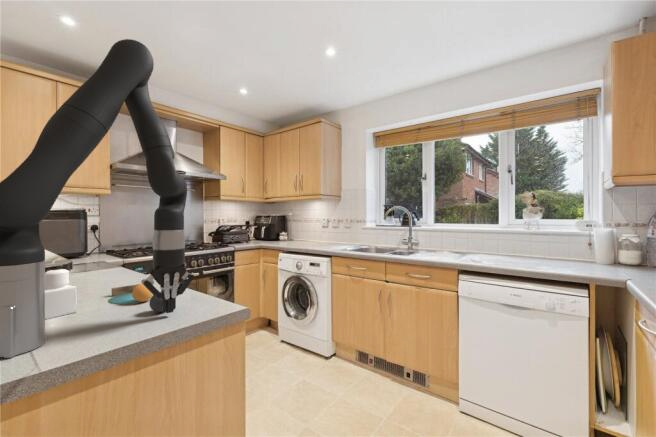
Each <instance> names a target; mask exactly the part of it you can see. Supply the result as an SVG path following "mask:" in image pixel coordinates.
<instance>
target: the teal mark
mask: <svg viewBox="0 0 656 437" xmlns="http://www.w3.org/2000/svg"><path fill="white" fill-rule="evenodd" d="M152 296H153V295H152ZM150 299H151V298H150ZM150 299H149V300H148V301H145V302H150ZM145 302H144V303H145ZM108 303H110V304H113V305H133V304H139V303H140V304H141V303H142V302H138V301H136V300H135V299H134V298H133V296H132V293H127V294H122V295H118V296H111V298H109V299H108Z"/></svg>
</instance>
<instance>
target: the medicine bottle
mask: <svg viewBox="0 0 656 437" xmlns="http://www.w3.org/2000/svg"><path fill="white" fill-rule="evenodd" d="M77 289H78V288H77V286H74V285H71V284H70V270H69V269H66V268H61V267H60V268H48V269H45V321H47V320H49V319H50V320H51V319H54V318H58V317H62V316H68V315H70V314H71V315H73V314H75V313H77V311H78V310H77V307H78V305H77V300H78V299H77V297H78V296H77Z"/></svg>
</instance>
